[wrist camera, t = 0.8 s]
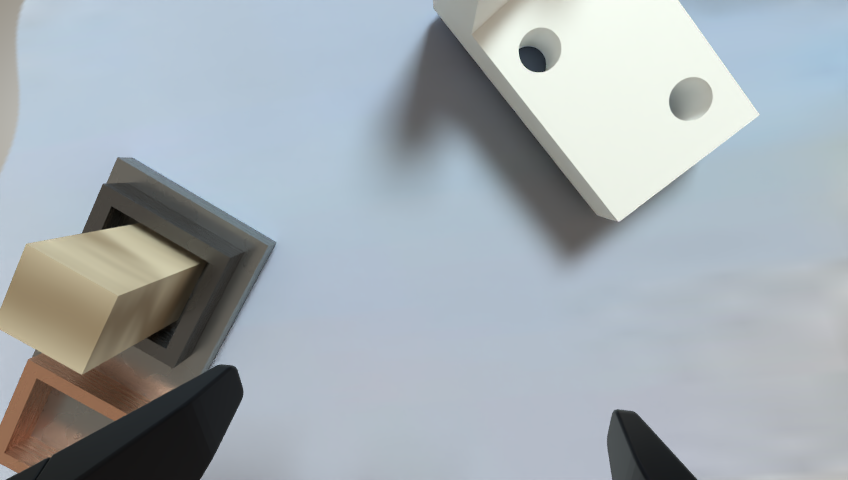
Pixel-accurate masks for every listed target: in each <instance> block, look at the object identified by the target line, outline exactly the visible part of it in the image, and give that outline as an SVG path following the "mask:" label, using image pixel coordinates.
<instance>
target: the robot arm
mask: <svg viewBox="0 0 848 480" xmlns="http://www.w3.org/2000/svg"><path fill="white" fill-rule="evenodd" d="M242 397H243V387H242V383H241V380H240V377H239V374H238V370H237V368H236V367H235V366H231V365H217V366H215V367H213V368H211V369H210V370H208V371H206V372H204V373H202V374H200V375H199V376H197V377H195V378H193V379H191V380H189V381H188V382H186V383H184V384H182V385H180V386H178V387H177V388H175V389H173V390H171V391H169V392H167V393H165V394H164V395H162V396H160V397H158V398H156V399H154V400H153V401H151V402H149V403H147V404H145V405H143V406H141V407H140V408H138V409H136V410H134V411H132V412H130V413H129V414H127V415H125V416H123V417H121V418H119V419H118V420H116V421H114V422H112V423H110V424H108V425H106V426H105V427H103V428H101V429H99V430H97V431H95V432H94V433H92V434H90V435H88V436H86V437H84V438H83V439H81V440H79V441H77V442H75V443H73V444H71V445H70V446H68V447H66V448H64V449H62V450H60V451H59V452H57V453H55V454H53V455H52V456H51V458H50V457H48V458H45V459H44V460H42V461H40V462H38V463H36V464H35V465H33V466H31V467H29V468H27V469H25V470H23V471H22V472H20V473H18V474H16V475H14V476H12V477H10V478H8V479H6V480H200V479H201V477H202V476H203V474H204V472H205V471H206V469H207V467H208V466H209V464H210V462H211V460H212V459H213V457H214V455H215V453H216V451H217V449H218V447H219V445H220V443H221V441H222V439H223V437H224V435H225V433H226V431H227V429H228V427H229V425H230V423H231V421H232V419H233V417H234V415H235V413H236V411H237V408H238V406H239V404H240V402H241V400H242ZM607 447H608V454H609V461H610V468H611V474H612V480H697V479H696V478H695V477H694V475H693V474H692V473H691V472H690V471H689V470H688V469H687V468H686V467H685V466H684V464H683V463H682V462H681V461H680V460H679V459H678V458H677V457H676V456H675V455H674V454H673V452H672V451H671V450H670V449H669V448H668V447H667V446H666V445H665V444H664V443H663V442H662V440H661V439H660V438H659V437H658V436H657V435H656V434H655V433H654V432H653V431H652V429H651V428H650V427H649V426H648V425H647V424H646V423H645V422H644V421H643V420H642V419H641V417H640V416H639V415H638V414H637V413H635V412H633V411H627V410H618V409H617V410H614V411H613V413H612V417H611V421H610V426H609V431H608V436H607Z"/></svg>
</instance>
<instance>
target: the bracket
mask: <svg viewBox="0 0 848 480" xmlns="http://www.w3.org/2000/svg"><path fill="white" fill-rule="evenodd" d="M433 7H434V10H435V11H436V12H437V14H438V15H439V16H440V17H441V19H442V20H443V21H444V22H445V24H446V25H447V26H448V28H449V29H450V30H451V31H452V33H453V34H454V35H455V36H456V38H457V39H458V40H459V41H460V43H461V44H462V45H463V47H464V48H465V49H466V50H467V52H468V53H469V54H470V55H471V57H472V58H473V59H474V60H475V62H476V63H477V64H478V65H479V67H480V68H481V69H482V71H483V72H484V73H485V74H486V76H487V77H488V78H489V79H490V81H491V82H492V83H493V84H494V86H495V87H496V88H497V90H498V91H499V92H500V93H501V95H502V96H503V97H504V98H505V100H506V101H507V102H508V103H509V105H510V106H511V107H512V108H513V110H514V111H515V112H516V114H517V115H518V116H519V117H520V119H521V120H522V121H523V122H524V124H525V125H526V126H527V127H528V129H529V130H530V131H531V133H532V134H533V135H534V136H535V138H536V139H537V140H538V141H539V143H540V144H541V145H542V146H543V148H544V149H545V150H546V151H547V153H548V154H549V155H550V157H551V158H552V159H553V160H554V162H555V163H556V164H557V165H558V167H559V168H560V169H561V170H562V172H563V173H564V174H565V176H566V177H567V178H568V179H569V181H570V182H571V183H572V184H573V186H574V187H575V188H576V189H577V191H578V192H579V193H580V194H581V196H582V197H583V198H584V200H585V201H586V202H587V203H588V205H589V206H590V207H591V208H592V210H593V211H594V212H595V213H596V215H597V216H601V217H604V218H607V219H610V220H613V221H617V222H620V221H621V220H622V219H624V218H625V217H626V216H627V215H629V214H630V213H631V212H633V211H634V210H635V209H637V208H638V207H639V206H641V205H642V204H643V203H645V202H646V201H647V200H648V199H650V198H651V197H652V196H654V195H655V194H656V193H658V192H659V191H660V190H662V189H663V188H664V187H666V186H667V185H668V184H669V183H671V182H672V181H673V180H675V179H676V178H677V177H679V176H680V175H681V174H683V173H684V172H685V171H687V170H688V169H689V168H690V167H692V166H693V165H694V164H696V163H697V162H698V161H700V160H701V159H702V158H704V157H705V156H706V155H708V154H709V153H710V152H711V151H713V150H714V149H715V148H717V147H718V146H719V145H721V144H722V143H723V142H725V141H726V140H727V139H729V138H730V137H731V136H732V135H734V134H735V133H736V132H738V131H739V130H740V129H742V128H743V127H744V126H746V125H747V124H748V123H750V122H751V121H752V120H754V119H755V118H756V117H757V116H759V113H758V112H757V110H756V109H755V108H754V106H753V105H752V103H751V102H750V101H749V99H748V98H747V96H746V95H745V94H744V92H743V91H742V89H741V88H740V86H739V85H738V84H737V82H736V81H735V79H734V78H733V77H732V75H731V74H730V72H729V71H728V70H727V68H726V67H725V65H724V64H723V63H722V61H721V60H720V58H719V57H718V56H717V54H716V53H715V51H714V50H713V49H712V47H711V46H710V44H709V43H708V41H707V40H706V39H705V37H704V36H703V34H702V33H701V32H700V30H699V29H698V27H697V26H696V25H695V23H694V22H693V20H692V19H691V18H690V16H689V15H688V13H687V12H686V11H685V9H684V8H683V6H682V5H681V4H680V2H679V1H678V0H433ZM525 46H532V47H535V48H537V49H539V50H540V51H541V52H542V53H543V55H544V57H545V60H546V69H545V72H539V73H538V72H532V71H530V70H528V69H527V68H526V67H525V66H524V65H523V64H522V62H521V60H520V58H519V49H520V48H522V47H525Z"/></svg>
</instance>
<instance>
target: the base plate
mask: <svg viewBox="0 0 848 480" xmlns="http://www.w3.org/2000/svg"><path fill="white" fill-rule="evenodd" d="M137 223H141V224H143V225H145V226H147V227H148V228H150V229H152V230H154V231H155V232H157V233H159V234H160V235H162V236H164V237H166V238H167V239H169V240H171V241H172V242H174V243H176V244H178V245H179V246H181V247H183V248H185V249H186V250H188V251H190V252H191V253H193V254H195V255H197V256H198V257H200V258H202V259H204V260H205V261H207V263H206V265H205V267H204V269H203V271H202V273H201V275H200V277H199V279H198V281H197V283H196V285H195V287H194V289H193V291H192V293H191V295H190V297H189V299H188V301H187V303H186V305H185V307H184V309H183V311H182V313H181V315H180V317H179V319H178V320H177V321H175V322H173V323H172V324H170V325H168V326H166V327H165V328H163V329H161V330H159V331H158V332H156V333H154V334H152V335H151V336H149V337H147V338H145V339H144V340H142V341H140V342H138V343H137V344H135V345H133V346H131V347H130V348H128V349H126V350H124V351H123V352H121V353H119V354H117V355H116V356H114V357H112V358H110V359H109V360H107V361H105V362H103V363H102V364H100V365H98V366H96V367H95V368H93V369H91V370H89V371H88V372H86V373H84V374H82V375H81V374H79V373H78V372H76V371H74V370H72V369H70V368H69V367H67V366H65V365H63V364H61V363H60V362H58V361H56V360H54V359H52V358H50V357H49V356H47V355H45V354H43V353H41V352H40V351H38V350H35V352H34V354H33V357H32V358H30V359H28V361H27V364H26V366H25V368H24V371H23V373H22V375H21V378H20V380H19V382H18V385H17V387H16V389H15V392H14V394H13V396H12V399H11V401H10V403H9V406H8V408H7V411H6V413H5V415H4V418H3V420H2V422H1V425H0V464H2V465H4V466H6V467H8V468H9V469H11V470H13V471H15V472H17V473H20V472H22V471H23V470H25V469H27V468H29V467H31V466H33V465H35V464H36V463H38V462H40V461H42V460H44V459H45V458H48V457H50V458H51V456H52V455H53V454H55V453H57V452H59V451H60V450H62V449H64V448H66V447H68V446H70V445H71V444H73V443H75V442H77V441H79V440H81V439H83V438H84V437H86V436H88V435H90V434H92V433H94V432H95V431H97V430H99V429H101V428H103V427H105V426H106V425H108V424H110V423H112V422H114V421H116V420H118V419H119V418H121V417H123V416H125V415H127V414H129V413H130V412H132V411H134V410H136V409H138V408H140V407H141V406H143V405H145V404H147V403H149V402H151V401H153V400H154V399H156V398H158V397H160V396H162V395H164V394H165V393H167V392H169V391H171V390H173V389H175V388H177V387H178V386H180V385H182V384H184V383H186V382H188V381H189V380H191V379H193V378H195V377H197V376H199V375H200V374H202V373H204V372H206V371H208V369H209V367H210V365H211V364H212V362H213V360H214V358H215V356H216V354H217V352H218V350H219V349H220V347H221V345H222V343H223V341H224V339H225V337H226V335H227V334H228V332H229V330H230V328H231V326H232V324H233V322H234V320H235V319H236V317H237V315H238V313H239V311H240V309H241V307H242V305H243V304H244V302H245V300H246V298H247V296H248V294H249V292H250V290H251V289H252V287H253V285H254V283H255V281H256V279H257V277H258V275H259V274H260V272H261V270H262V268H263V266H264V264H265V262H266V260H267V259H268V257H269V255H270V253H271V251H272V249H273V247H274V245H275V244H276V242H275V241H273V240H271V239H270V238H268V237H266V236H264V235H263V234H261V233H259V232H258V231H256V230H254V229H253V228H251V227H249V226H247V225H246V224H244V223H242V222H241V221H239V220H237V219H236V218H234V217H232V216H230V215H229V214H227V213H225V212H224V211H222V210H220V209H219V208H217V207H215V206H213V205H212V204H210V203H208V202H207V201H205V200H203V199H202V198H200V197H198V196H196V195H195V194H193V193H191V192H190V191H188V190H186V189H185V188H183V187H181V186H179V185H178V184H176V183H174V182H173V181H171V180H169V179H168V178H166V177H164V176H162V175H161V174H159V173H157V172H156V171H154V170H152V169H150V168H149V167H147V166H145V165H144V164H142V163H140V162H139V161H137V160H135V159H133V158H120V157H118V158H117V160H116V162H115V165H114V167H113V169H112V172H111V174H110V176H109V179H108V181H107V183H106V184H103V185H102V187H101V190H100V192H99V194H98V197H97V199H96V201H95V204H94V206H93V208H92V211H91V213H90V215H89V218H88V220H87V223H86V225H85V227H84V230H83V232H82V233H88V232H93V231H99V230H104V229H110V228H115V227H121V226H126V225H132V224H137Z"/></svg>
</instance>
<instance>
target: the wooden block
mask: <svg viewBox="0 0 848 480" xmlns="http://www.w3.org/2000/svg"><path fill="white" fill-rule="evenodd" d="M206 263H207V261H205V260H204V259H202V258H200V257H198V256H197V255H195V254H193V253H191V252H190V251H188V250H186V249H185V248H183V247H181V246H179V245H178V244H176V243H174V242H172V241H171V240H169V239H167V238H166V237H164V236H162V235H160V234H159V233H157V232H155V231H154V230H152V229H150V228H148V227H147V226H145V225H143V224H141V223H137V224H132V225H126V226H121V227H115V228H110V229H104V230H99V231H93V232H88V233H82V234H77V235H72V236H66V237H61V238H55V239H50V240H44V241H39V242H33V243H28V244H26V246H25V248H24V251H23V253H22V256H21V258H20V261H19V263H18V266H17V268H16V271H15V273H14V276H13V278H12V281H11V284H10V286H9V289H8V291H7V294H6V296H5V299H4V301H3V304H2V306H1V309H0V330H2V331H4V332H5V333H7V334H9V335H11V336H13V337H14V338H16V339H18V340H20V341H22V342H23V343H25V344H27V345H29V346H31V347H32V348H34V349H36V350H38V351H40V352H41V353H43V354H45V355H47V356H49V357H50V358H52V359H54V360H56V361H58V362H60V363H61V364H63V365H65V366H67V367H69V368H70V369H72V370H74V371H76V372H78V373H79V374H81V375H82V374H84V373H86V372H88V371H89V370H91V369H93V368H95V367H96V366H98V365H100V364H102V363H103V362H105V361H107V360H109V359H110V358H112V357H114V356H116V355H117V354H119V353H121V352H123V351H124V350H126V349H128V348H130V347H131V346H133V345H135V344H137V343H138V342H140V341H142V340H144V339H145V338H147V337H149V336H151V335H152V334H154V333H156V332H158V331H159V330H161V329H163V328H165V327H166V326H168V325H170V324H172V323H173V322H175V321H177V320H178V319H179V317H180V315H181V313H182V311H183V309H184V307H185V305H186V303H187V301H188V299H189V297H190V295H191V293H192V291H193V289H194V287H195V285H196V283H197V281H198V279H199V277H200V275H201V273H202V271H203V269H204V267H205V265H206Z"/></svg>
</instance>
